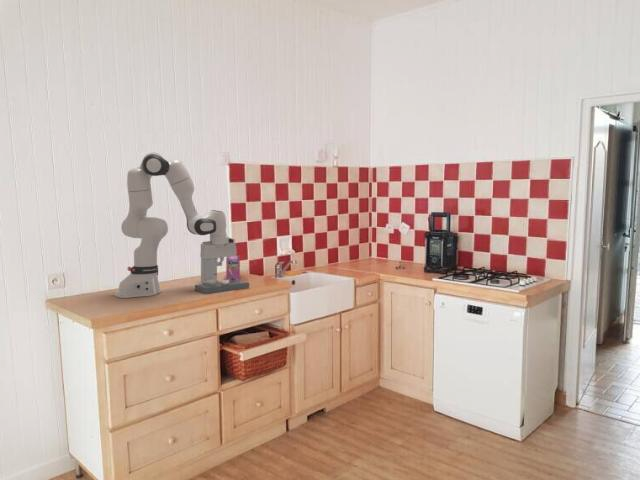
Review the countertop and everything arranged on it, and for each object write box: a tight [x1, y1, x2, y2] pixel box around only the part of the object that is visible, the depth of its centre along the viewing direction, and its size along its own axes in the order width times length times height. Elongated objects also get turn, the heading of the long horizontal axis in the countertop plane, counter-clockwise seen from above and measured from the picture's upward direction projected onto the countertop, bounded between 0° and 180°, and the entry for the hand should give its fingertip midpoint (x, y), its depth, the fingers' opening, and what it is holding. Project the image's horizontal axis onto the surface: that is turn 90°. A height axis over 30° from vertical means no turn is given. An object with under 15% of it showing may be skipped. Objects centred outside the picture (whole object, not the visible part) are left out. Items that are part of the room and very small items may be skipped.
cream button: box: [220, 279, 229, 285], centre depth 262 cm, size 4×4×2 cm
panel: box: [194, 279, 250, 295], centre depth 264 cm, size 26×12×3 cm, turn 131°
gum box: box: [225, 253, 241, 281], centre depth 299 cm, size 24×8×14 cm, turn 10°
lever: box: [227, 264, 235, 280], centre depth 272 cm, size 2×2×10 cm
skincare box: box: [200, 257, 218, 284], centre depth 285 cm, size 8×6×15 cm
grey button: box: [207, 280, 216, 285], centre depth 256 cm, size 4×4×2 cm
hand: (219, 265), depth 266 cm, fingers closed
